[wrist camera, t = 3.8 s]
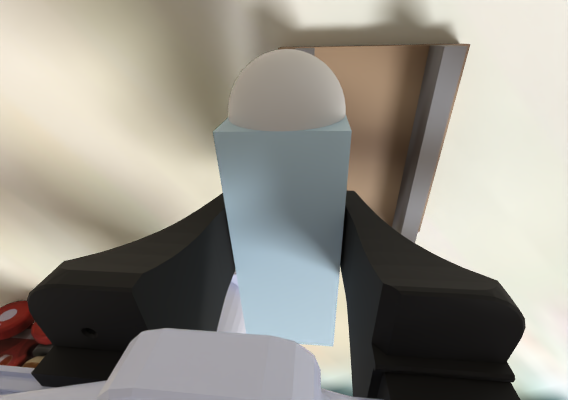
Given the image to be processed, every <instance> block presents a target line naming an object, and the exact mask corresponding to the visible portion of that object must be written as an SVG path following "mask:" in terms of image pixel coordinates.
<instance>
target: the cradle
mask: <svg viewBox="0 0 568 400" xmlns="http://www.w3.org/2000/svg"><path fill="white" fill-rule="evenodd" d="M469 47H470V44H420V45H371V46H323V47H280V48H278V50H279V49H295V50H300V51H304V52H306V53H309V54H311V55H313V56H315V57H317V58H318V59H320V60H321V61H323V62H324V63H325V64H326V65H327V66H328V67H329V68H330V69H331V70H332V72H333V73H334V74H335V76H336V77H337V79H338V81H339V83H340V85H341V88H342V90H343V94H344V98H345V106H346V117H347V119H348V122H349V125H350V128H351V130H352V133H351V144H350V156H349V168H348V179H347V190H349V191H355V192H356V193H357V194H358V195H359V196H360V197H361V199H362V200H363V201H364V202H365V203H366V204H367V205H368V206H369V207H370V208H371V209H372V210H373V211H374V212H375V213H376V214H377V215H378V216H379V217H380V218H381V219H382V220H384V221H385V222H386V223H387V224H388V225H389V226H391V227H392V228H393V229H395V230H396V231H397V232H399V233H400V234H401V235H403V236H404V237H406V238H407V239H409V240H410V241H412V242H413V243H415V240H416V236H417V233H418V232H419V231H420V227H421V224H422V220H423V216H424V213H425V209H426V205H427V202H428V198H429V194H430V190H431V187H432V183H433V179H434V176H435V172H436V168H437V165H438V161H439V157H440V154H441V150H442V146H443V143H444V139H445V135H446V132H447V128H448V124H449V121H450V117H451V113H452V110H453V106H454V102H455V99H456V95H457V91H458V87H459V84H460V80H461V76H462V73H463V69H464V65H465V62H466V58H467V54H468V51H469Z"/></svg>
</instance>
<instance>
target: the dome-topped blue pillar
mask: <svg viewBox="0 0 568 400" xmlns="http://www.w3.org/2000/svg"><path fill="white" fill-rule="evenodd" d="M351 133H352V130H351V128H350V125H349V122H348V119H347V117H346V106H345V98H344V94H343V90H342V88H341V85H340V83H339V81H338V79H337V77H336V76H335V74H334V73H333V72H332V70H331V69H330V68H329V67H328V66H327V65H326V64H325V63H324V62H323V61H321V60H320V59H318V58H317V57H315V56H313V55H311V54H309V53H306V52H304V51H300V50H295V49H279V50H274V51H270V52H267V53H265V54H263V55H260V56H259V57H257V58H256V59H254V60H253V61H252V62H250V63H249V64H248V65H247V66H246V67H245V68H244V69H243V70H242V71H241V73H240V74H239V76H238V77H237V79H236V81H235V83H234V85H233V87H232V90H231V93H230V97H229V103H228V118H227V119H226V120H225V121H224V122H223V123H222V124H220V125H219V126H218V127H217V128H216V129H215V130H214V131H213V136H214V142H215V148H216V154H217V160H218V166H219V172H220V178H221V184H222V190H223V196H224V202H225V208H226V214H227V220H228V226H229V232H230V238H231V244H232V250H233V256H234V262H235V269H236V275H237V281H238V287H239V293H240V299H241V305H242V311H243V317H244V323H245V329H246V334H258V335H272V336H276V337H280V338H284V339H289V340H293V341H295V342H296V343H298V344H309V345H323V346H333V342H334V330H335V319H336V307H337V296H338V284H339V272H340V261H341V249H342V237H343V226H344V214H345V203H346V191H347V179H348V168H349V156H350V144H351Z"/></svg>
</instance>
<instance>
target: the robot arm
mask: <svg viewBox="0 0 568 400" xmlns="http://www.w3.org/2000/svg"><path fill="white" fill-rule="evenodd" d="M340 267H341V272H342V278H343V283H344V288H345V294H346V301H347V311H348V324H349V338H350V353H351V369H352V386H353V397H350V396H347V395H343V394H340V393H336V392H332V391H329V390H325V389H322V388H321V378H320V368H319V365H318V363H317V360H316V358H315V356H314V355H313V354H312V353H311V352H310V351H308V350H307V349H305V348H304V347H302V346H301V345H299V344H298V343H296V342H295V341H293V340H289V339H284V338H280V337H276V336H272V335H258V334H246V329H245V323H244V317H243V311H242V305H241V299H240V293H239V287H238V281H237V275H236V272H235V270H236V269H235V262H234V256H233V250H232V244H231V238H230V232H229V226H228V220H227V214H226V208H225V202H224V196H223V193H222V194H221V195H219V196H218V197H216V198H215V199H213V200H212V201H210V202H209V203H208V204H206V205H205V206H203V207H202V208H200V209H199V210H197V211H195V212H194V213H192V214H191V215H189V216H187V217H186V218H184V219H182V220H181V221H179V222H177V223H175V224H173V225H171V226H169V227H167V228H165V229H163V230H161V231H159V232H157V233H154V234H152V235H149V236H147V237H144V238H142V239H139V240H137V241H134V242H132V243H129V244H126V245H123V246H120V247H117V248H113V249H110V250H107V251H103V252H100V253H96V254H92V255H88V256H84V257H80V258H76V259H72V260H67V261H64V262H62V263H61V264H60V265H59V266H58V267H57V268H56V269H55V270H54V271H53V272H52V273H51V274H49V275H48V276H47V277H46V278H45V279H44V280H43V281H42V282H41V283H40V284H39V285H38V286H36V287H35V288H34V289H33V290H32V291H31V292H30V293H29V296H28V299H27V302H28V308H29V312H30V313H31V315H32V317H33V319H34V320H35V322H36V323H37V324H38V326H39V327H40V328H41V330H42V331H43V332H44V334H45V335H46V336H47V338H48V339H49V340H50V342H51V343H52V344H53V347H52V349H51V350H50V351H49V352H48V353H47V354H46V356H45V357H44V358H43V359H42V360H41V362H40V363H39V364H38V365H37V366H36V368H28V367H17V366H5V365H0V400H520V398H519V397H518V395H517V393H516V391H515V389H514V388H513V386H512V384H511V382H514V380H515V375H514V373H513V372H512V370H511V368H510V366H509V365H508V363H507V360H508V359H509V357H510V355H511V354H512V352H513V351H514V349H515V347H516V346H517V344H518V343H519V341H520V339H521V338H522V335H523V333H524V330H525V318H524V316H523V315H522V313H521V312H520V310H519V308H518V307H517V306H516V304H515V303H514V301H513V300H512V299H511V297H510V296H509V295H508V293H507V292H506V291H505V289H504V288H503V287H502V286H501V284H500V283H499V282H498V281H497V280H494V279H491V278H489V277H486V276H484V275H481V274H478V273H476V272H473V271H470V270H468V269H465V268H463V267H460V266H458V265H456V264H454V263H451V262H449V261H447V260H445V259H443V258H441V257H439V256H437V255H435V254H433V253H431V252H429V251H427V250H426V249H424V248H422V247H420V246H418V245H417V244H415V243H413V242H412V241H410V240H409V239H407V238H406V237H404V236H403V235H401V234H400V233H399V232H397V231H396V230H395V229H393V228H392V227H391V226H389V225H388V224H387V223H386V222H385V221H384V220H382V219H381V218H380V217H379V216H378V215H377V214H376V213H375V212H374V211H373V210H372V209H371V208H370V207H369V206H368V205H367V204H366V203H365V202H364V201H363V200H362V199H361V197H360V196H359V195H358V194H357V193H356V192H355V191H349V190H347V191H346V203H345V214H344V226H343V237H342V249H341V261H340Z"/></svg>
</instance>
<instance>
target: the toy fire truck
mask: <svg viewBox="0 0 568 400" xmlns="http://www.w3.org/2000/svg"><path fill="white" fill-rule="evenodd" d="M34 321H35V320H34V319H33V317H32V315H31V313H30V312H29V308H28V302H27V301H17V302H13V303H10V304H7V305H5V306H3V307H1V308H0V365H5V366H17V367H28V368H36V366H37V365H38V364H39V363H40V362H41V360H42V359H43V358H44V357H45V356H46V354H47V353H48V352H49V351H50V350H51V349H52V347H53V344H52V343H51V342H50V340H49V339H48V338H47V336H46V335H45V334H44V332H43V331H42V330H41V328H40V327H39V326H38V324H37V323H36V322H34ZM33 322H34V324H32V323H33Z"/></svg>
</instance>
